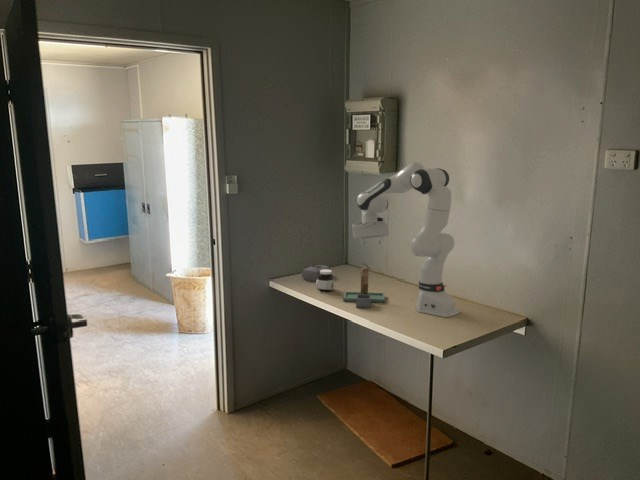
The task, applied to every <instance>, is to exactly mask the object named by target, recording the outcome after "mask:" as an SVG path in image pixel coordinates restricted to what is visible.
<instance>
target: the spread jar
mask: <svg viewBox="0 0 640 480" xmlns="http://www.w3.org/2000/svg"><path fill="white" fill-rule="evenodd" d="M315 285H316V287H317V289H318V290H319V291H320V292H322V293H323V292H324V293H329V292H332V291H333V289H334V288H335V276H334V274H333V271H332V269H331V270H328V269H323V270H320V275H319V277H318V279H317V280H316V281H315Z"/></svg>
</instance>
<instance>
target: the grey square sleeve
mask: <svg viewBox="0 0 640 480" xmlns="http://www.w3.org/2000/svg"><path fill="white" fill-rule="evenodd" d="M371 307H372V303H371V295H365V294H357V296H356V302H355V308H356V309H372V308H371Z"/></svg>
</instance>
